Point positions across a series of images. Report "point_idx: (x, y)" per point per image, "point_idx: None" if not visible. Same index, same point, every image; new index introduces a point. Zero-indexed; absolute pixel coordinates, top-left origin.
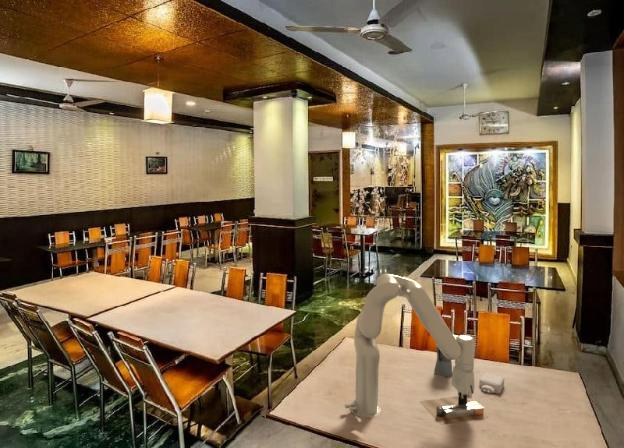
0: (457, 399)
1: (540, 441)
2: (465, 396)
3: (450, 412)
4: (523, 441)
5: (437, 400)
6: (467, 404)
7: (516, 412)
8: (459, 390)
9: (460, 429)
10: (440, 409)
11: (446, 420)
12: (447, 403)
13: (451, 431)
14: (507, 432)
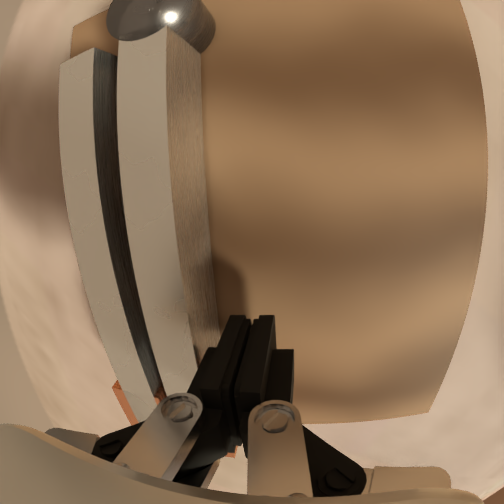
0: (411, 361)
1: (50, 416)
2: (105, 438)
3: (64, 110)
4: (33, 380)
5: (467, 163)
6: (184, 384)
7: (211, 488)
8: (79, 485)
9: (49, 161)
10: (118, 4)
11: None
12: (394, 235)
13: (44, 93)
14: (63, 381)
